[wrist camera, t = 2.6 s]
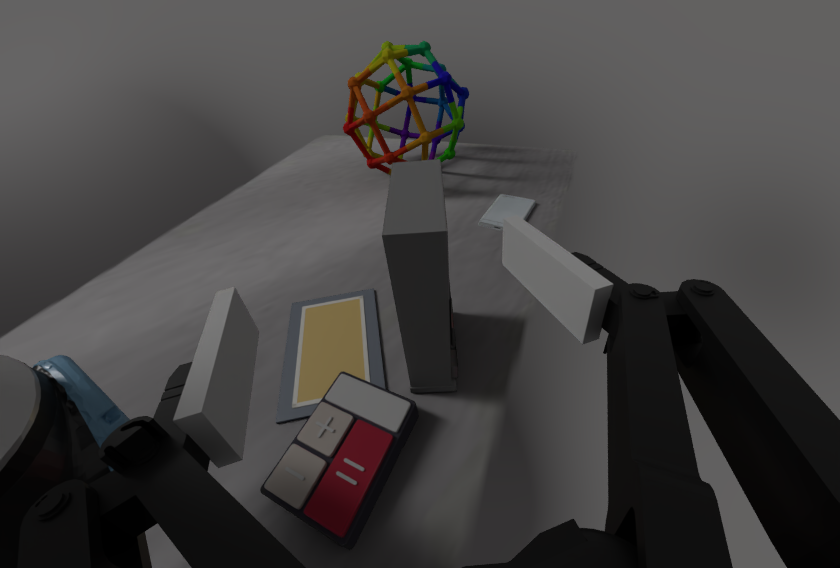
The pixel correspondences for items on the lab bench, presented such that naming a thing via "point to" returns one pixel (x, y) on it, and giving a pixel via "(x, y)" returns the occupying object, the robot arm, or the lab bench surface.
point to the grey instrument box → (421, 273)
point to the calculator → (342, 457)
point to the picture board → (328, 350)
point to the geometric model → (408, 94)
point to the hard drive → (506, 210)
